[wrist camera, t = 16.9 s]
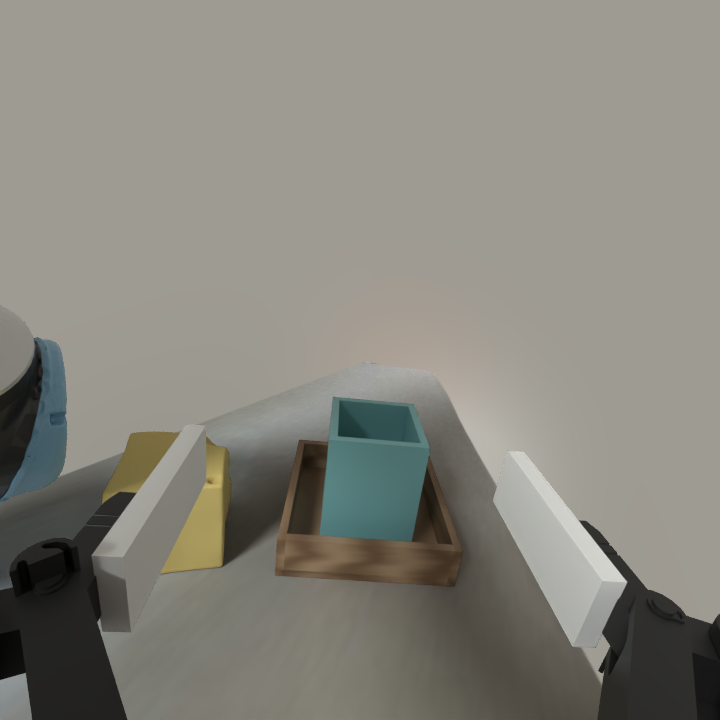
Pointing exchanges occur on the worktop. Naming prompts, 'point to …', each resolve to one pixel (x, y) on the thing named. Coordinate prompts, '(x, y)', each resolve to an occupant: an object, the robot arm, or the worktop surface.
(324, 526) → the teal crate
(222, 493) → the cheese
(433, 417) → the worktop surface
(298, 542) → the walnut crate
